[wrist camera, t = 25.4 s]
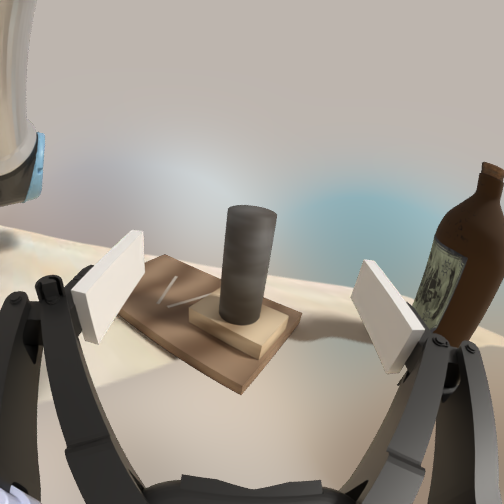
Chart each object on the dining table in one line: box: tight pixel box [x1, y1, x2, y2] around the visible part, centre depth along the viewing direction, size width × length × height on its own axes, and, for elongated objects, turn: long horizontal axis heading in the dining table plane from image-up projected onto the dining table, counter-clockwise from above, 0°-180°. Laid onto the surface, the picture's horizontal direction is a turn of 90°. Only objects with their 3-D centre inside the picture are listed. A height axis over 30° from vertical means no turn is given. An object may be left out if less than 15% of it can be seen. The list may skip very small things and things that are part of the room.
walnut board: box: [118, 254, 302, 395], centre depth 33 cm, size 24×14×2 cm, turn 59°
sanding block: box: [189, 205, 289, 360], centre depth 27 cm, size 9×6×13 cm, turn 58°
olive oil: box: [412, 162, 504, 348], centre depth 24 cm, size 11×11×25 cm
